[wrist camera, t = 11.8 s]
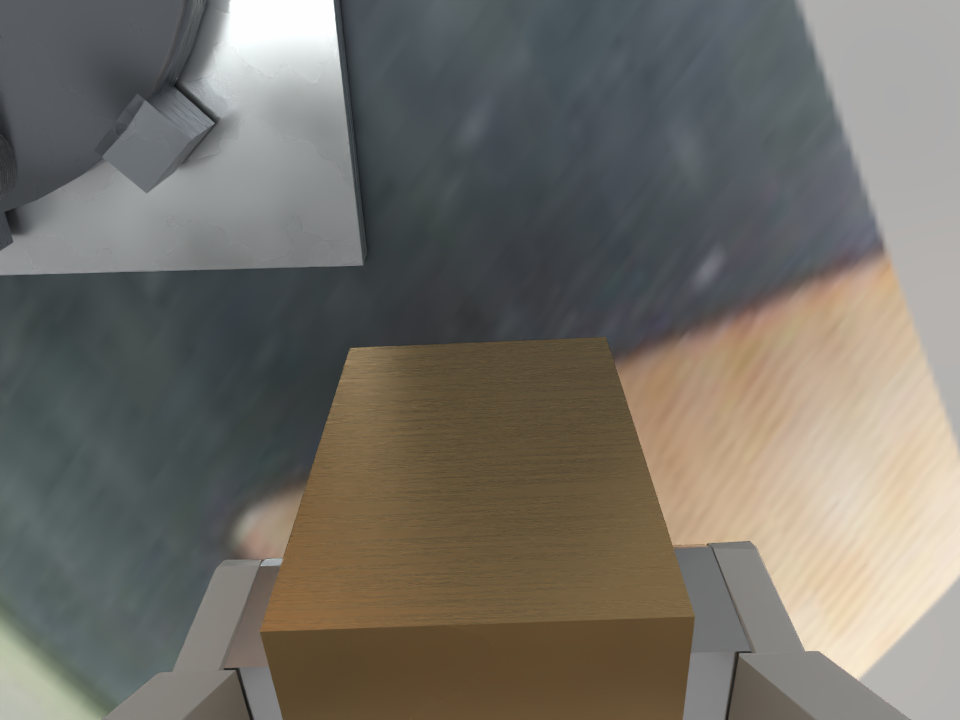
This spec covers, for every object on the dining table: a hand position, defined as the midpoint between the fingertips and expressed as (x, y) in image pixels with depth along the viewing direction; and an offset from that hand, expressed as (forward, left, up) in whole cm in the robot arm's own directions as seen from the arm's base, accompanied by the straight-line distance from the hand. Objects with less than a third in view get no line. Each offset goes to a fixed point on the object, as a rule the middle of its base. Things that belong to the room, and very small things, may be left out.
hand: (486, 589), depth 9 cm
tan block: (0, 0, -2) cm, 2 cm away
